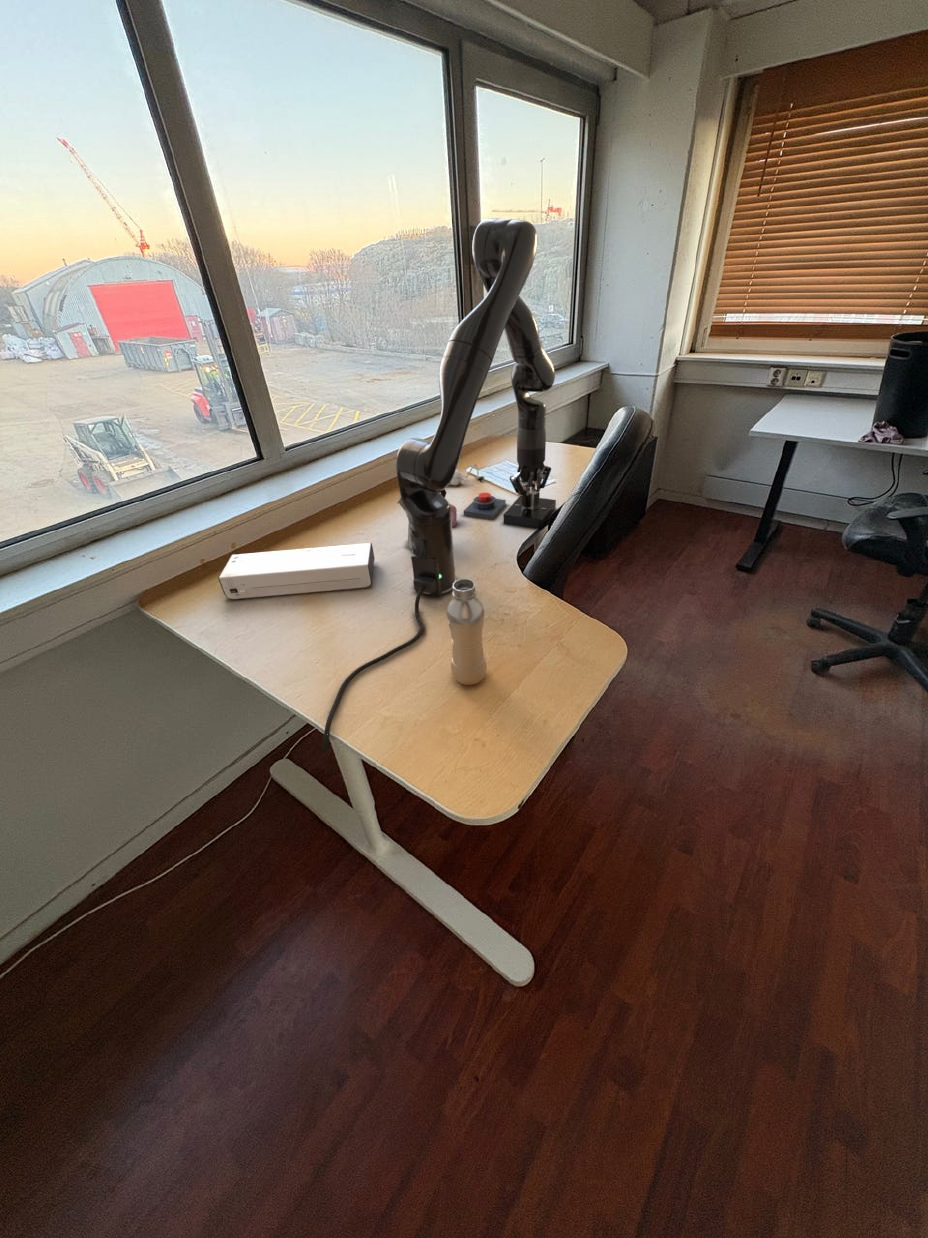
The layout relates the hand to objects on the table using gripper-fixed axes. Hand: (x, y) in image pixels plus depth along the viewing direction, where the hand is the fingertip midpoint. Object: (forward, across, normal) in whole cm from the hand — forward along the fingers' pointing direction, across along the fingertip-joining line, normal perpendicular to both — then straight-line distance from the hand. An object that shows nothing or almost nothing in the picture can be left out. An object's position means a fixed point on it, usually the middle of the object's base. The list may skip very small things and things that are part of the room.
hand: (530, 505), depth 143 cm
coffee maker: (+3, -31, +6) cm, 32 cm away
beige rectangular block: (0, 0, 0) cm, 0 cm away
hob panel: (+3, 0, 0) cm, 3 cm away
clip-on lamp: (+3, 0, +37) cm, 37 cm away
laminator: (+3, -65, +8) cm, 66 cm away
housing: (+3, -7, +12) cm, 14 cm away
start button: (0, -7, +12) cm, 14 cm away
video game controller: (+3, -22, +14) cm, 26 cm away
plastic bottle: (+4, -53, -44) cm, 69 cm away
